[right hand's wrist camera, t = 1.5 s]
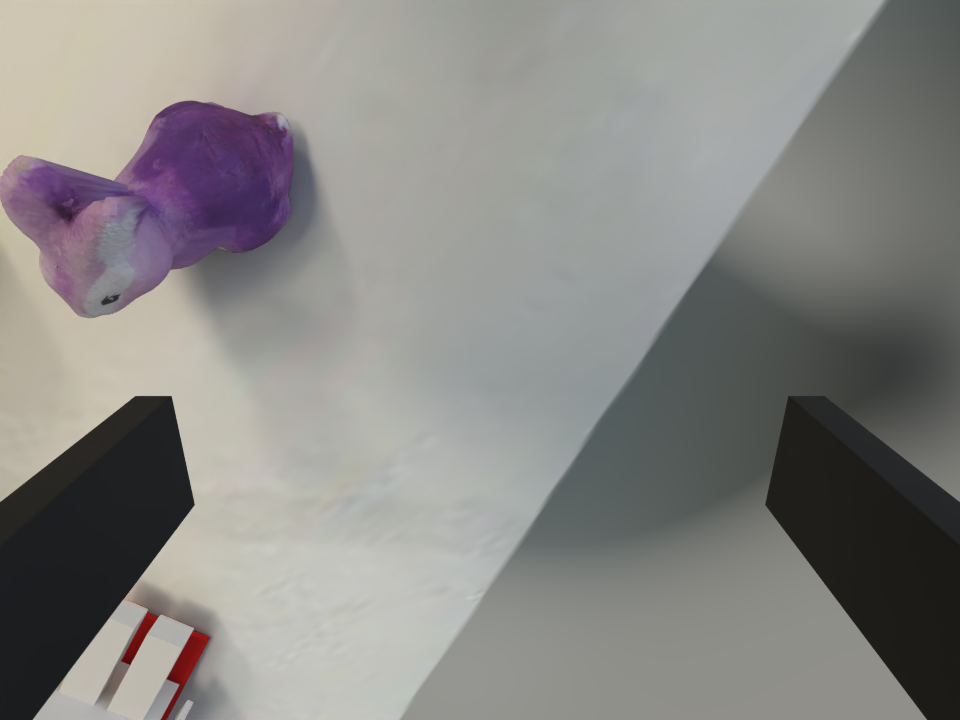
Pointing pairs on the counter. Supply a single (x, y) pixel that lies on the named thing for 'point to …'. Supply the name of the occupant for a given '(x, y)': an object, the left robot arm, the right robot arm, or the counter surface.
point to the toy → (129, 670)
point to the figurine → (155, 204)
